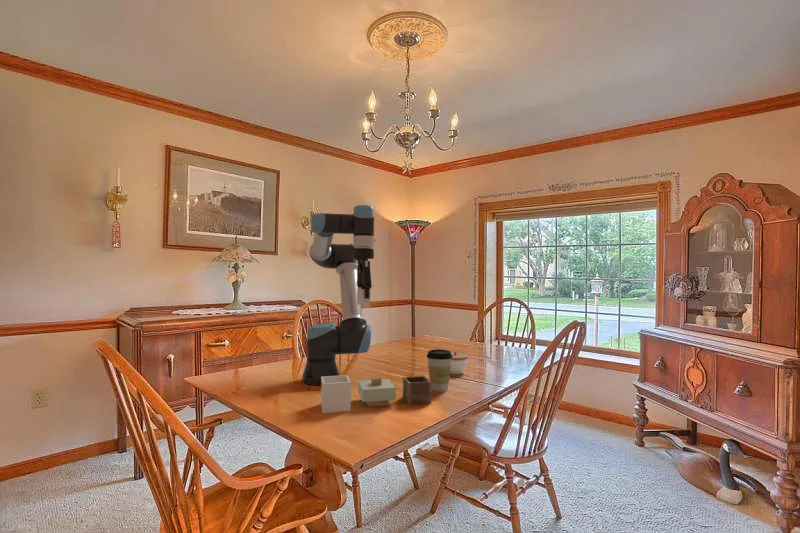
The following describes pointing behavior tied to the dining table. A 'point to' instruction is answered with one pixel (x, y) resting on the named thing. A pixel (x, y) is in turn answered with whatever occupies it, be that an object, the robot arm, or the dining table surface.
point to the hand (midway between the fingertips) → (363, 306)
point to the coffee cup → (439, 369)
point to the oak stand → (377, 403)
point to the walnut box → (416, 390)
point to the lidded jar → (458, 363)
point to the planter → (335, 394)
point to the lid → (376, 390)
